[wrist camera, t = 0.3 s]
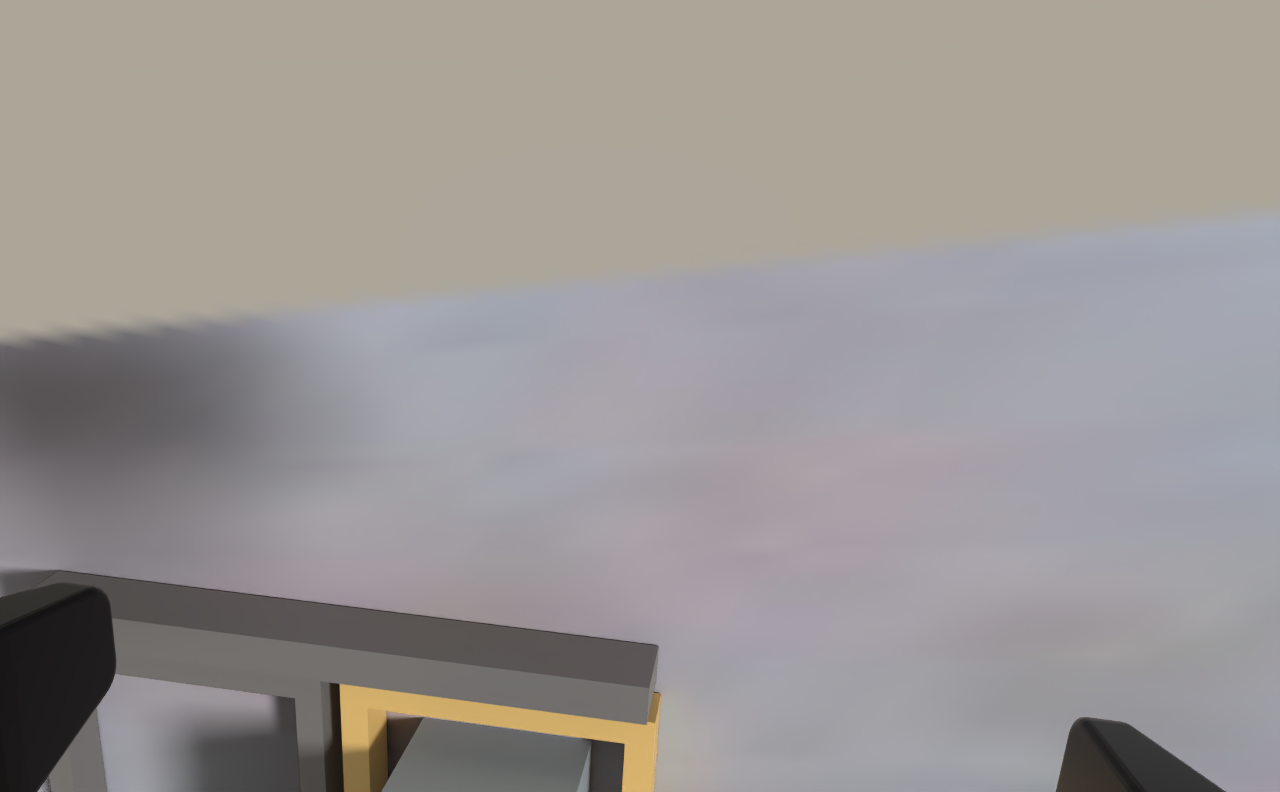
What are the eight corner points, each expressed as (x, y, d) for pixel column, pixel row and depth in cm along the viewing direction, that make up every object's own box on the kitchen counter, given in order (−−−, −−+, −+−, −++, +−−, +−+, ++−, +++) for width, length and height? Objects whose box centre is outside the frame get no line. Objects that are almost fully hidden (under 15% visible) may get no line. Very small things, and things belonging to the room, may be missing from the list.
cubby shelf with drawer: (642, 939, 27) (633, 996, 25) (93, 852, 29) (50, 900, 27) (664, 646, 24) (655, 689, 23) (53, 570, 26) (2, 603, 24)
